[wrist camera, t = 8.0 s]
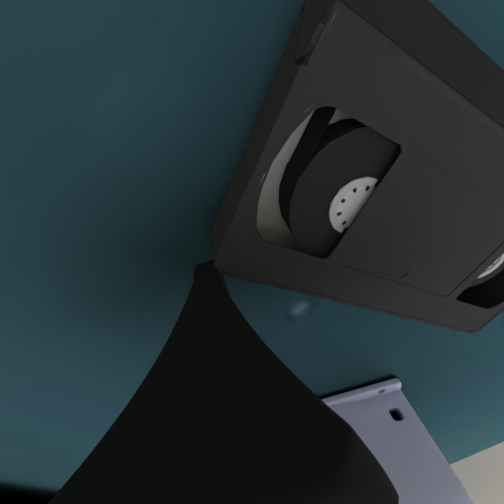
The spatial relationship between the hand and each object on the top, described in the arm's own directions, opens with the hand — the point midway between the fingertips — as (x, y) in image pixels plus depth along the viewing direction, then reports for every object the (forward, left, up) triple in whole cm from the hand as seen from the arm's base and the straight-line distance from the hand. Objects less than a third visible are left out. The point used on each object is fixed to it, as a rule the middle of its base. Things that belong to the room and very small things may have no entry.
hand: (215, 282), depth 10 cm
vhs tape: (-8, 0, -1) cm, 8 cm away
